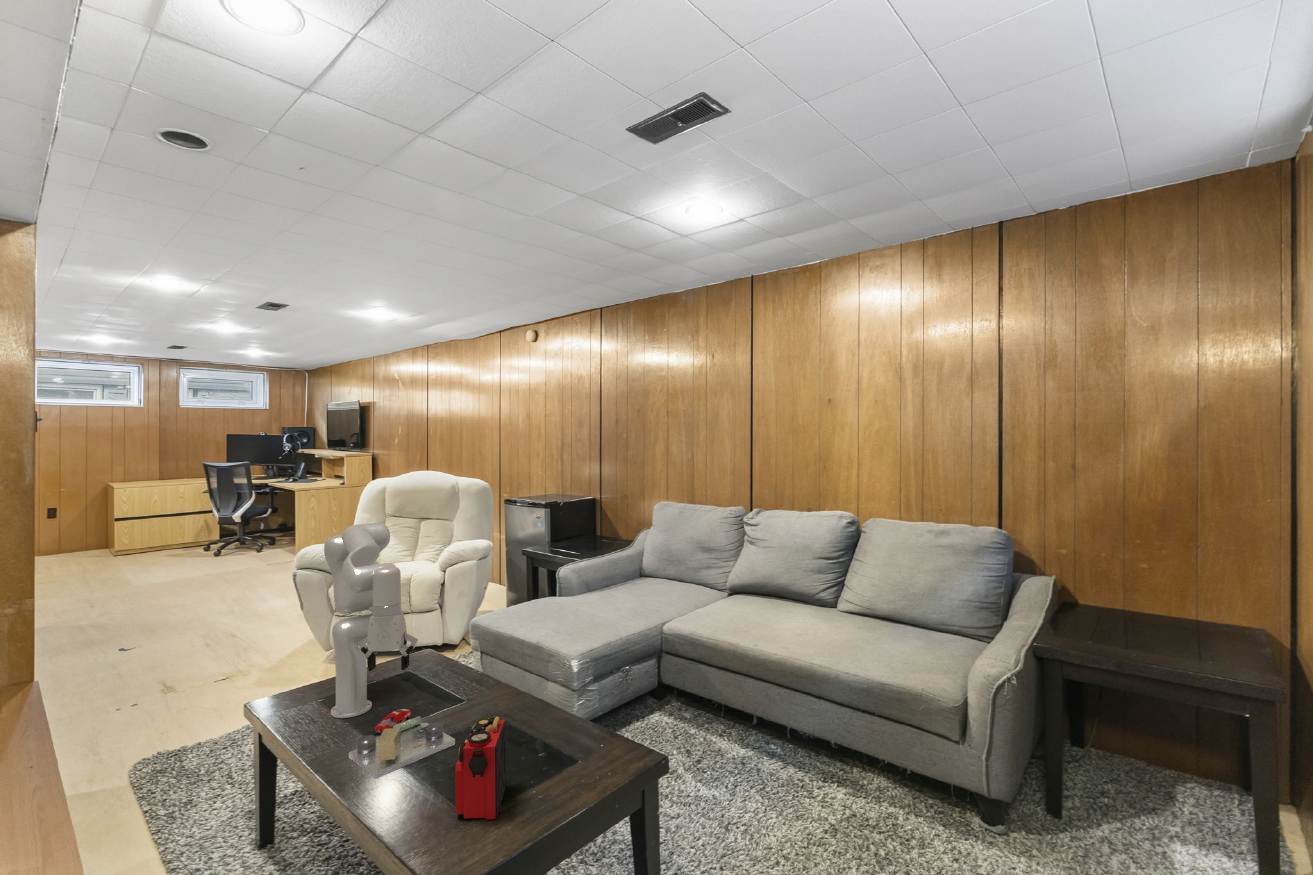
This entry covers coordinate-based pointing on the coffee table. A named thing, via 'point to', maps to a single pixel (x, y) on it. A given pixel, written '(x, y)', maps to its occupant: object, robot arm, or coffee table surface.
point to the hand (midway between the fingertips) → (388, 669)
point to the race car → (393, 720)
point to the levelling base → (402, 747)
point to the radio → (482, 770)
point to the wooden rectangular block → (389, 744)
